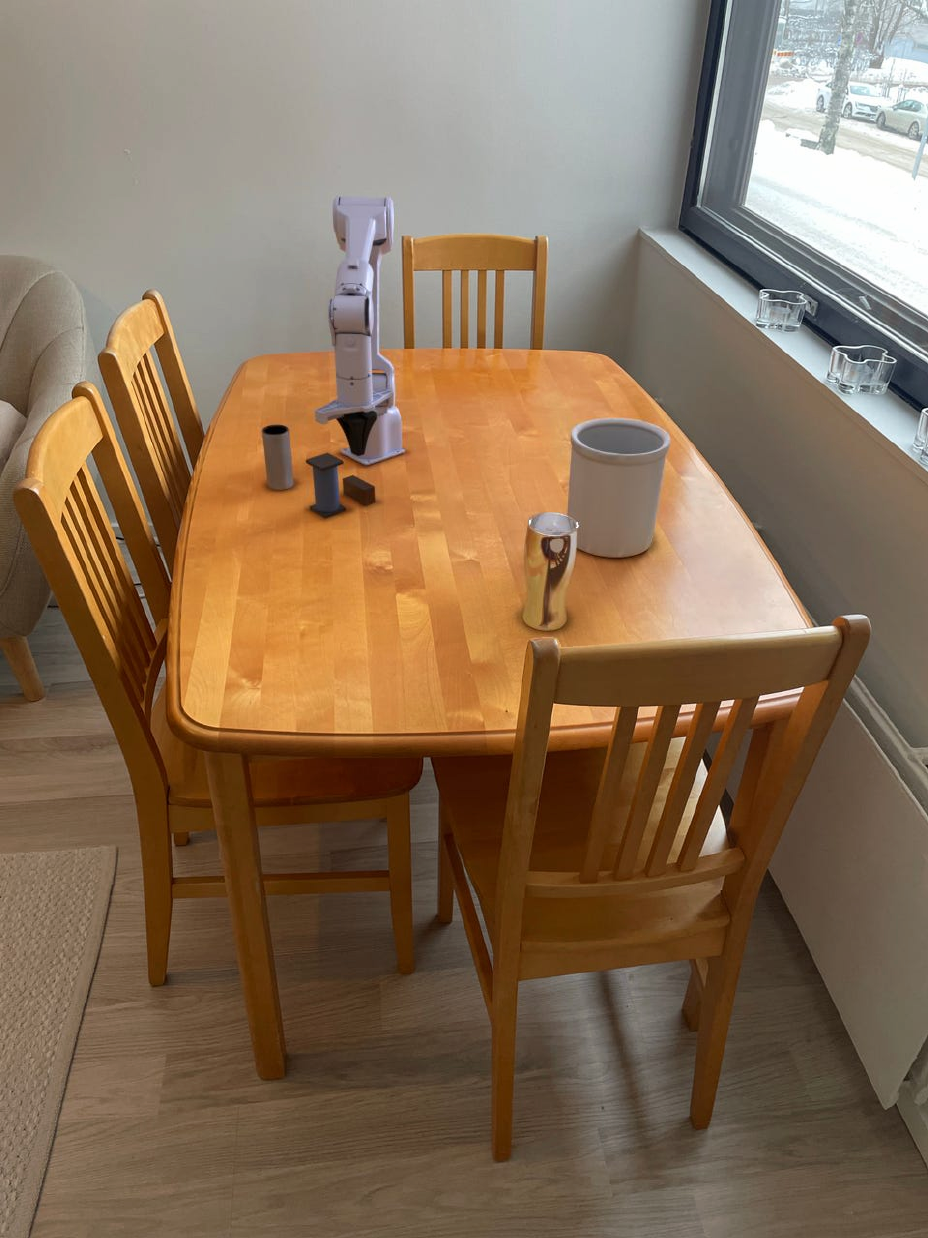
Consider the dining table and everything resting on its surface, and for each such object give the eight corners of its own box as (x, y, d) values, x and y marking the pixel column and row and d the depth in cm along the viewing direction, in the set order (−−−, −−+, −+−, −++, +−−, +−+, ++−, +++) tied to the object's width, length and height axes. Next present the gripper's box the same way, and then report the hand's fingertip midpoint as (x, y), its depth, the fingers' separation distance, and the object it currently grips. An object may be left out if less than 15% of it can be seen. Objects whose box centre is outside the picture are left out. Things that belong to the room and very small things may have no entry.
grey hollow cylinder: (288, 491, 158) (283, 435, 152) (263, 489, 158) (257, 433, 152) (297, 480, 161) (292, 425, 155) (273, 477, 162) (267, 422, 156)
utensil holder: (545, 524, 150) (553, 423, 140) (623, 509, 155) (636, 410, 145) (590, 567, 139) (602, 461, 129) (672, 549, 144) (690, 446, 134)
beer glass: (516, 605, 130) (522, 511, 121) (564, 604, 130) (574, 510, 122) (523, 633, 124) (530, 537, 116) (573, 632, 125) (584, 535, 116)
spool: (349, 465, 155) (313, 444, 147) (366, 474, 152) (330, 452, 145) (323, 515, 155) (285, 497, 148) (338, 525, 153) (301, 506, 145)
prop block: (353, 490, 159) (353, 474, 157) (375, 502, 155) (374, 486, 153) (343, 494, 157) (342, 478, 156) (365, 506, 154) (364, 490, 152)
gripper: (332, 391, 137) (337, 473, 145) (405, 370, 146) (406, 449, 154) (304, 378, 142) (311, 459, 149) (377, 358, 150) (380, 436, 158)
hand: (357, 453), depth 152 cm, fingers closed
